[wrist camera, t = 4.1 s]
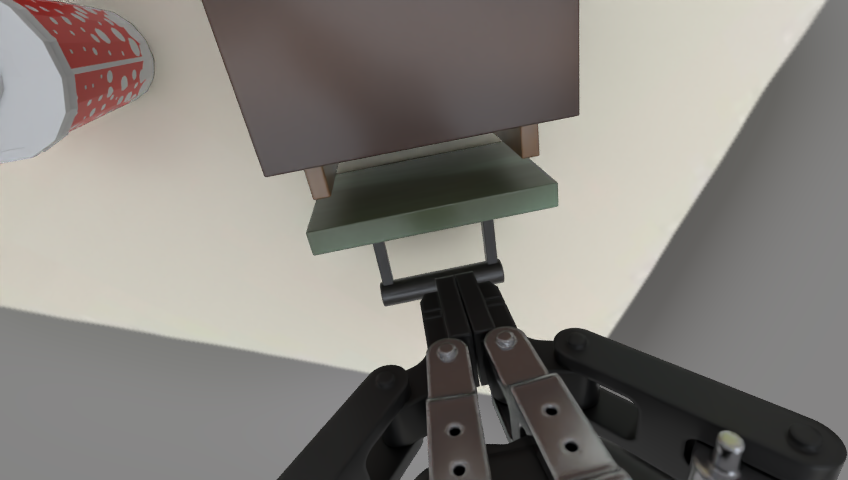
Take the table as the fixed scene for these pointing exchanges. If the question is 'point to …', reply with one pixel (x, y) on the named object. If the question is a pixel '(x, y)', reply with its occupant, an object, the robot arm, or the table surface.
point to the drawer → (429, 204)
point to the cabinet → (392, 72)
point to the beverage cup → (63, 71)
